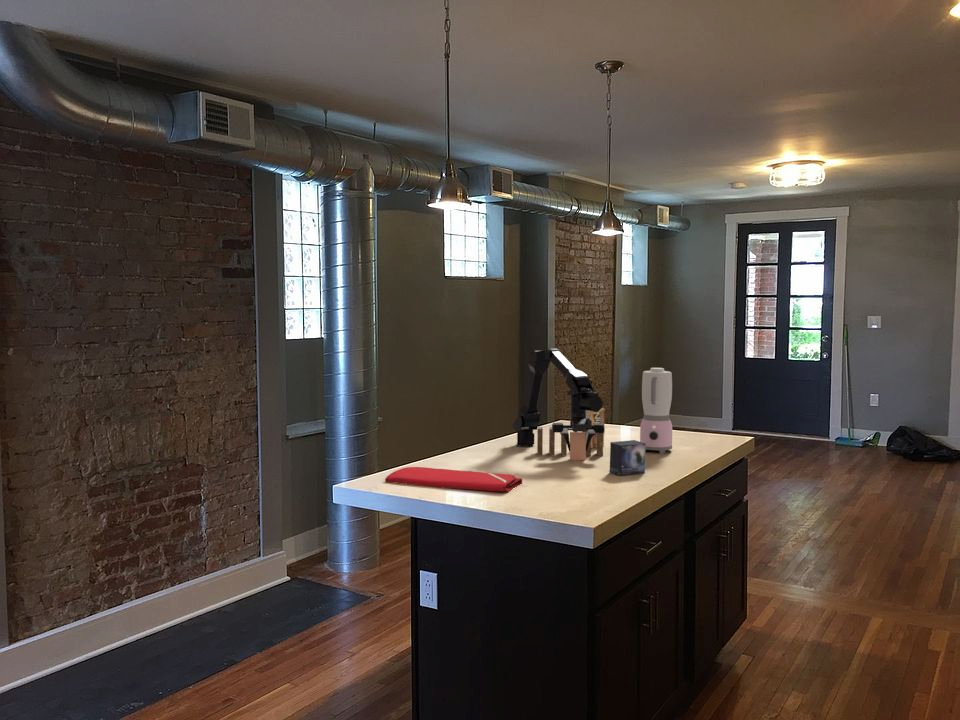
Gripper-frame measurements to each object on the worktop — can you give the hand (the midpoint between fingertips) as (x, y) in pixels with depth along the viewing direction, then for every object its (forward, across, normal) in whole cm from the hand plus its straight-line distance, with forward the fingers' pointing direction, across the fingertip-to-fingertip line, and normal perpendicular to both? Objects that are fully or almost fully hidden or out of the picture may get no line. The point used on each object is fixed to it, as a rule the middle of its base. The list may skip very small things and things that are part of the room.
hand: (577, 451), depth 287 cm
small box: (+3, +15, -22) cm, 27 cm away
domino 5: (+3, +4, +10) cm, 11 cm away
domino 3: (+3, -4, +10) cm, 11 cm away
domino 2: (+3, -9, +10) cm, 14 cm away
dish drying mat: (+4, -42, -40) cm, 58 cm away
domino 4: (+3, 0, 0) cm, 3 cm away
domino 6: (+3, +9, +10) cm, 14 cm away
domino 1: (+3, -14, +10) cm, 17 cm away
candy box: (+3, +8, +26) cm, 27 cm away
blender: (+3, +31, +18) cm, 36 cm away
